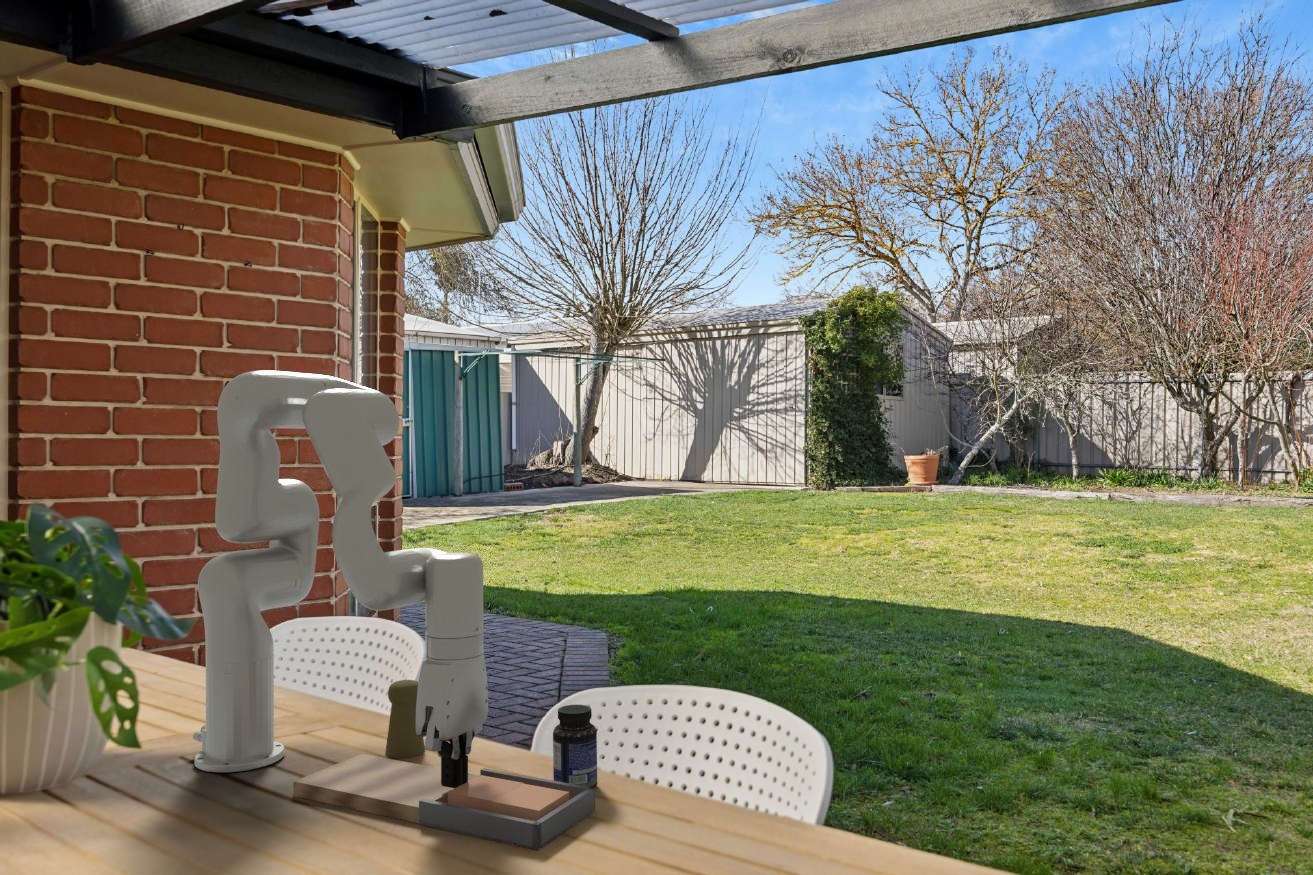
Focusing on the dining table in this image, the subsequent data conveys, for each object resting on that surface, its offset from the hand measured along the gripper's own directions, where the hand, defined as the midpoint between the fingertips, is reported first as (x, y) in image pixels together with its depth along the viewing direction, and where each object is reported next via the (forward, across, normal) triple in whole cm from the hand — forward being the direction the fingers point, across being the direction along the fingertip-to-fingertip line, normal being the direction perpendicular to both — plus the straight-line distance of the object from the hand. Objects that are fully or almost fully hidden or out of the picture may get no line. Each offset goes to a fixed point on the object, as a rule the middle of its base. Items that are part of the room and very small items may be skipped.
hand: (454, 785), depth 129 cm
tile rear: (+3, 0, +5) cm, 6 cm away
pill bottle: (+3, -13, +11) cm, 17 cm away
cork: (+3, -15, -21) cm, 26 cm away
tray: (+3, 0, +9) cm, 9 cm away
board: (+3, 0, -11) cm, 12 cm away
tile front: (+3, 0, +12) cm, 12 cm away
